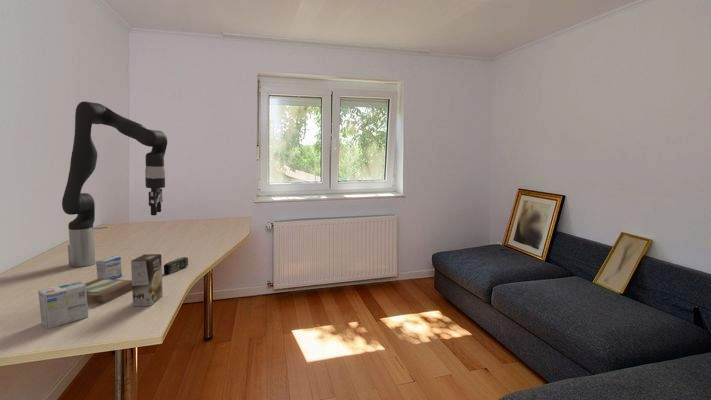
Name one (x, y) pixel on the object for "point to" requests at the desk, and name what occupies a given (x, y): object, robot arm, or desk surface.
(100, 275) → the medicine box
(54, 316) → the light bulb box
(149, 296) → the coffee box
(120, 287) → the walnut plinth
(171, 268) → the dark remote control
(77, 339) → the desk surface
